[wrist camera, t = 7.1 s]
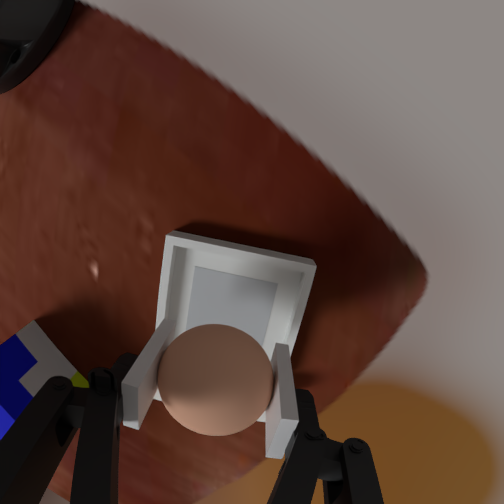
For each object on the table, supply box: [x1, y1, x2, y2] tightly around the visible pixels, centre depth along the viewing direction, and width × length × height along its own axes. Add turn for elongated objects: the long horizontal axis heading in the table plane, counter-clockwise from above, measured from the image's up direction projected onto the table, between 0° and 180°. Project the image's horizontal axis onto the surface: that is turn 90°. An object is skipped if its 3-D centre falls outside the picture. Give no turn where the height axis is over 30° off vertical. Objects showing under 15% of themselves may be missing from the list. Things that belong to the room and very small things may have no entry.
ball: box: [157, 324, 274, 436], centre depth 15 cm, size 6×6×6 cm
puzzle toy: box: [0, 320, 89, 440], centre depth 21 cm, size 10×10×10 cm
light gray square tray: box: [155, 230, 317, 361], centre depth 23 cm, size 10×10×2 cm
